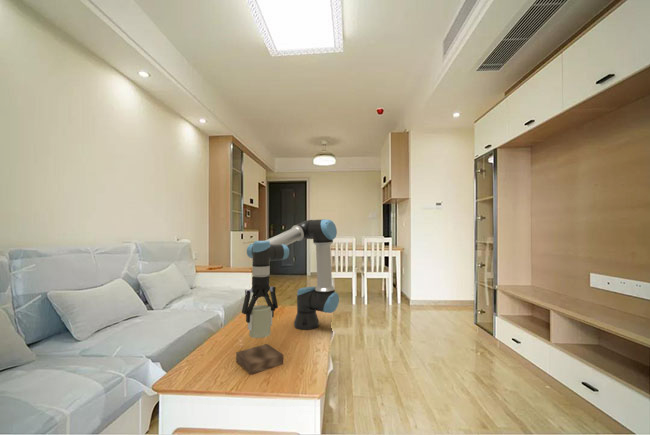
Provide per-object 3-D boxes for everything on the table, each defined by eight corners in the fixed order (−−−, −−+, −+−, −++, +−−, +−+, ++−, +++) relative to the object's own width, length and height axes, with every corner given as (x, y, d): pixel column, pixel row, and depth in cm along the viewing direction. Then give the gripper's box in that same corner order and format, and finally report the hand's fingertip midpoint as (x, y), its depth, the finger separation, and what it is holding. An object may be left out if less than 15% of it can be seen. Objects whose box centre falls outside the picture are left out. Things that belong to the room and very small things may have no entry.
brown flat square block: (266, 352, 132) (267, 343, 133) (283, 363, 121) (283, 354, 121) (236, 361, 123) (236, 351, 123) (250, 374, 111) (250, 364, 111)
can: (265, 339, 117) (265, 309, 118) (245, 337, 119) (245, 308, 120) (273, 331, 126) (274, 304, 127) (254, 329, 128) (255, 303, 129)
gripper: (278, 272, 134) (277, 320, 132) (233, 276, 120) (232, 330, 119) (286, 274, 128) (285, 324, 127) (240, 279, 114) (239, 335, 113)
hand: (260, 327), depth 123 cm, fingers closed on can, 9 cm apart
